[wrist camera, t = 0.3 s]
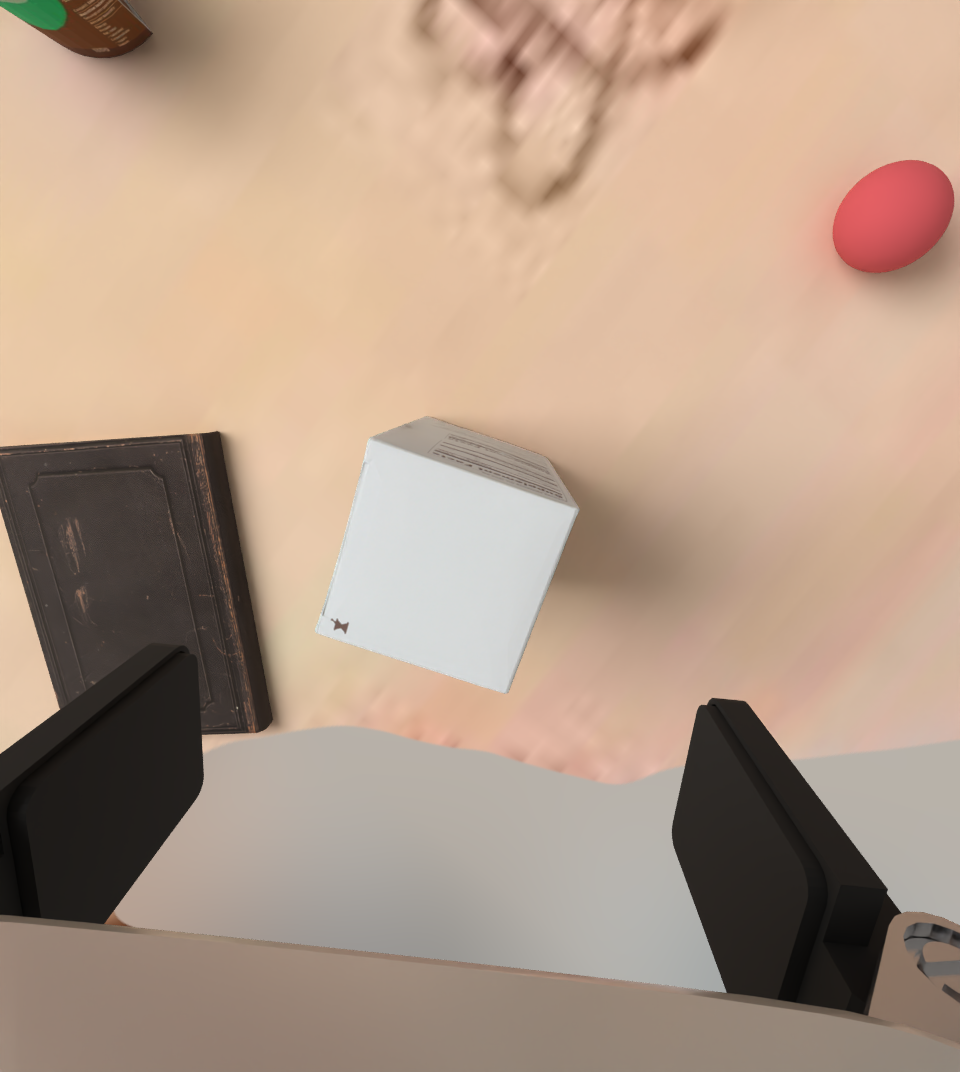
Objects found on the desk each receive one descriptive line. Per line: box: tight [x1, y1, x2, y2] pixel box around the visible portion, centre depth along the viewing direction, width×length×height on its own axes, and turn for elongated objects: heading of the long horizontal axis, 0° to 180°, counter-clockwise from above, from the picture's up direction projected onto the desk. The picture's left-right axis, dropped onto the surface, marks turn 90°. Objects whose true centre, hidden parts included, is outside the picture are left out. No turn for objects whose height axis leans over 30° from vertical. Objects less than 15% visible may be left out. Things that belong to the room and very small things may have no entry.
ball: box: [833, 160, 954, 273], centre depth 32 cm, size 6×6×6 cm
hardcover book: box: [0, 431, 273, 735], centre depth 42 cm, size 16×23×2 cm
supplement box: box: [315, 416, 580, 693], centre depth 32 cm, size 10×9×17 cm
